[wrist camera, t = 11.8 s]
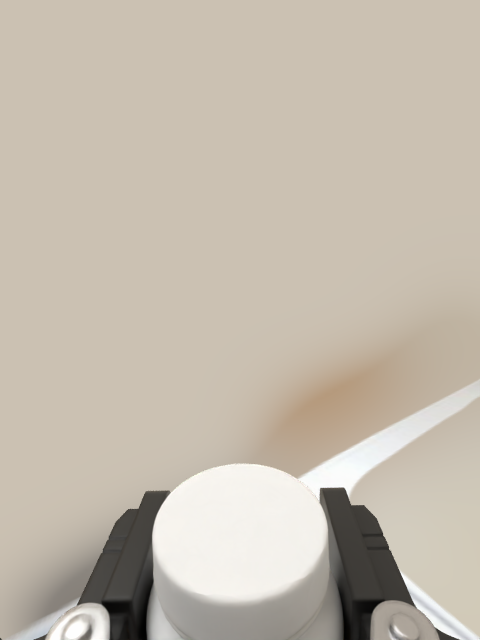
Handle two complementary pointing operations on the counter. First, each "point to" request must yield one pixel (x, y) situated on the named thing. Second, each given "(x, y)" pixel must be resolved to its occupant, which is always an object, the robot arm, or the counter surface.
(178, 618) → the supplement bottle
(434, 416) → the counter surface
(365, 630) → the robot arm
